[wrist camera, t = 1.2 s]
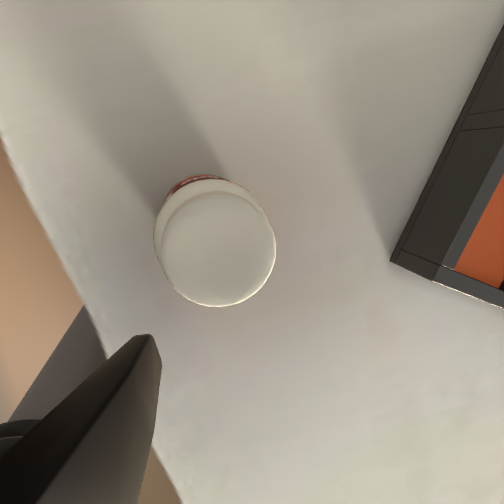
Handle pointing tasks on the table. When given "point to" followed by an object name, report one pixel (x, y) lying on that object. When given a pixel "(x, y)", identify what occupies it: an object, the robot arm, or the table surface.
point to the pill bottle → (214, 241)
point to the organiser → (465, 199)
